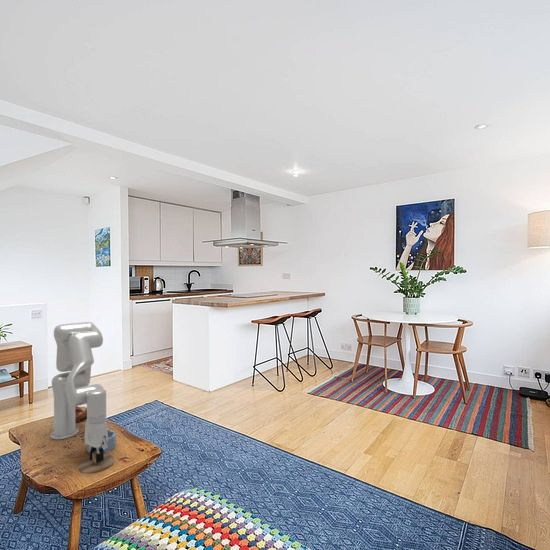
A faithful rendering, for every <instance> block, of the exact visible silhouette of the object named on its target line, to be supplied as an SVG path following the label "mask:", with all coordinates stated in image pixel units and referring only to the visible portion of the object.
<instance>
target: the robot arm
mask: <svg viewBox="0 0 550 550" xmlns="http://www.w3.org/2000/svg"><path fill="white" fill-rule="evenodd" d="M103 337H104V336H103V333H102V332H101V330H100V329H99V328H98V327H97V326H96V325H95V324H94V323H93V322H91V321H84V322H74V323H73V322H72V323H65V324H64V323H63V324H58V325H56V326H55V328H54V329H53V338H54V340H55V344H56V360H55V363H56V364H55V367H56V370H57V371H58V372H61V373H58V374H55V376H53V377H52V379H51V387H52V394H53V424H52V428H53V431H52V432H51V433H50V436H49V437H50V438H51V440H52V439H53V440H57V441H58V440H65V439H69V438H72V437H73V436H74V437H75V436H76V435H77V434H78V433H79V432H80V428H79V427H77V426H76V422H75V406H78V407H80V406H83V405H86V408H87V416H86V423H85V425H84V426H85V427H84V441H83V442H84V444H85V445H86V446H87V445H88V446H89V451H90V453H89V457H90V460H92V453H93V452H94V451H97V454H96V463H99V462H101V461H103V460H104V454H105V453H104V451H105V449H107V448H108V445H107V442H108V431H107V430H108V424H107V389H105V388H104V386H102V384H100V383H95V384H90V383H91V375H92V366H93V364H94V363H95V359H94V355H93V350H92V349H94V348H100V347H102V346H103V343H104V338H103ZM100 447H102V448H101V449H100Z"/></svg>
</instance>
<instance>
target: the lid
mask: <svg viewBox="0 0 550 550" xmlns="http://www.w3.org/2000/svg"><path fill="white" fill-rule="evenodd" d="M96 454H97V451H94V452H93V453H92V460H90V456H89V457H87V458H86V459H85V458H84V460H82V461H81V462H80V463H79V464H78V467H77V468H78V471H79V473H81V474H86V475H90V474H91V475H92V474H97V473H101V472H102V471H106V470H107V469H109V468H110V467H112V466H113V465H114V463H115V457H114V456H113V455H111V454H108V453H104V460H103V461H101V462H99V463H96Z"/></svg>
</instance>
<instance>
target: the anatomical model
mask: <svg viewBox="0 0 550 550" xmlns="http://www.w3.org/2000/svg"><path fill="white" fill-rule="evenodd" d="M85 418H87V406H75V423H80V422H81V421H82V420H83V419H85Z"/></svg>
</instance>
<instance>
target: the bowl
mask: <svg viewBox="0 0 550 550" xmlns="http://www.w3.org/2000/svg"><path fill="white" fill-rule="evenodd" d="M107 431H108V442H107V445H108V448H107V449H105V451H104V454H108V453H109V452H111V451H112V450H115V448H116V445H117V441H116V440H117V439H116V437H117V432H116V431H114V430H111V429H107ZM86 446H87V447H86V452H87V453H88V454H90V451H89V446H88V445H87V444H86ZM101 448H102V447H100V449H101Z"/></svg>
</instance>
